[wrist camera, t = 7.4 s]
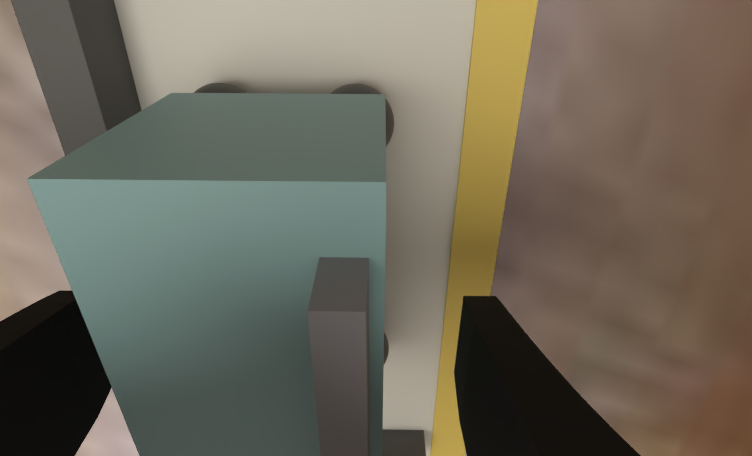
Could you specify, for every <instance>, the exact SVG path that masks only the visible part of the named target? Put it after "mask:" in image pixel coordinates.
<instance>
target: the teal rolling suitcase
mask: <svg viewBox="0 0 752 456" xmlns="http://www.w3.org/2000/svg"><path fill="white" fill-rule="evenodd" d="M393 130H394V116H393V112H392V109H391V106H390V104H389V102H388V101H387V99H386V98H385V94H381V93H380V92H379V91H377V90H376V89H374V88H372V87H370V86H368V85H364V84H347V85H344V86H341V87H339V88H337V89H335V90H334V91H332V92H331V93H330V94H281V93H247V92H245V91H244V90H243V89H241V88H239V87H237V86H235V85H232V84H228V83H211V84H207V85H205V86H202V87H201V88H199V89H197V90H196V91H195V92H194V93H170V94H169V95H167V96H165V97H164V98H162V99H160V100H158V101H157V102H155V103H153V104H152V105H150V106H148V107H147V108H145V109H143V110H142V111H140V112H138V113H137V114H135V115H133V116H132V117H130V118H128V119H127V120H125V121H123V122H122V123H120V124H118V125H117V126H115V127H113V128H111V129H110V130H108V131H106V132H105V133H103V134H101V135H100V136H98V137H96V138H95V139H93V140H91V141H90V142H88V143H86V144H85V145H83V146H81V147H80V148H78V149H76V150H75V151H73V152H71V153H69V154H68V155H66V156H64V157H63V158H61V159H59V160H58V161H56V162H54V163H53V164H51V165H49V166H48V167H46V168H44V169H43V170H41V171H39V172H38V173H36V174H34V175H33V176H31V177H29V178H28V179H27V181H28V183H29V186H30V188H31V191H32V193H33V196H34V198H35V200H36V203H37V205H38V208H39V210H40V213H41V215H42V218H43V220H44V223H45V225H46V227H47V230H48V232H49V235H50V237H51V240H52V242H53V245H54V247H55V249H56V252H57V254H58V257H59V259H60V262H61V264H62V267H63V269H64V272H65V274H66V276H67V279H68V281H69V284H70V286H71V289H72V291H73V294H74V296H75V299H76V301H77V303H78V306H79V308H80V311H81V313H82V316H83V318H84V321H85V323H86V326H87V328H88V330H89V333H90V335H91V338H92V340H93V343H94V345H95V348H96V350H97V352H98V355H99V357H100V360H101V362H102V365H103V367H104V370H105V372H106V375H107V377H108V379H109V382H110V384H111V387H112V389H113V392H114V394H115V397H116V399H117V402H118V404H119V406H120V409H121V411H122V414H123V416H124V419H125V421H126V424H127V426H128V429H129V431H130V433H131V436H132V438H133V441H134V443H135V446H136V448H137V451H138V453H139V455H140V456H382V433H383V370H384V364H385V362H386V360H387V357H388V353H389V343H388V339H387V336H386V334H385V333H384V308H385V245H386V146H387V145H388V143H389V142H390V140H391V137H392V135H393Z"/></svg>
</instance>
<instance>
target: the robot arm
mask: <svg viewBox="0 0 752 456" xmlns="http://www.w3.org/2000/svg"><path fill="white" fill-rule="evenodd" d="M454 377H455V387H456V396H457V405H458V413H459V421H460V426H461V431H462V435H463V440H464V444H465V449H466V453H467V456H640V455H639V454H638V453H637V452H636V451H635V450H634V449H633V448H632V447H631V446H630V445H629V444H628V443H627V442H626V441H625V440H624V439H623V438H622V437H621V436H620V435H618V434H617V433H616V432H615V431H614V430H613V429H612V428H611V427H610V426H609V424H608V423H607V422H606V421H605V420H604V419H603V418H602V417H601V416H600V415H599V414H598V413H597V412H596V411H595V410H594V409H593V408H592V407H591V406H590V405H589V404H588V403H587V402H586V401H585V400H584V399H583V398H582V397H581V396H580V394H579V393H578V392H577V391H576V390H575V389H574V388H573V387H572V386H571V385H570V384H569V382H568V381H567V380H566V379H565V378H564V377H563V376H562V375H561V374H560V372H559V371H558V370H557V369H556V368H555V367H554V366H553V365H552V363H551V362H550V361H549V360H548V359H547V358H546V357H545V355H544V354H543V353H542V352H541V351H540V350H539V348H538V347H537V346H536V345H535V344H534V342H533V341H532V340H531V339H530V338H529V336H528V335H527V334H526V333H525V332H524V330H523V329H522V328H521V327H520V325H519V324H518V323H517V322H516V320H515V319H514V318H513V317H512V315H511V314H510V313H509V312H508V310H507V309H506V308H505V307H504V305H503V304H502V303H501V302H500V301H499V299H498V298H497V297H496V296H463V304H462V311H461V319H460V327H459V335H458V343H457V351H456V359H455V367H454ZM110 389H111V384H110V382H109V379H108V377H107V375H106V372H105V370H104V367H103V365H102V362H101V360H100V357H99V355H98V352H97V350H96V348H95V345H94V343H93V340H92V338H91V335H90V333H89V330H88V328H87V326H86V323H85V321H84V318H83V316H82V313H81V311H80V308H79V306H78V303H77V301H76V299H75V296H74V294H73V291H58V292H56V293H54V294H52V295H49V296H47V297H45V298H43V299H41V300H39V301H37V302H35V303H33V304H32V305H30V306H28V307H26V308H24V309H22V310H20V311H19V312H17V313H15V314H13V315H11V316H9V317H8V318H6V319H4V320H2V321H0V456H75V454H76V452H77V451H78V449H79V447H80V446H81V444H82V442H83V441H84V439H85V437H86V436H87V434H88V433H89V431H90V429H91V427H92V426H93V424H94V422H95V421H96V419H97V417H98V415H99V413H100V411H101V409H102V407H103V405H104V403H105V401H106V398H107V396H108V394H109V392H110Z"/></svg>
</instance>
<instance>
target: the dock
mask: <svg viewBox="0 0 752 456" xmlns="http://www.w3.org/2000/svg"><path fill="white" fill-rule="evenodd" d="M11 2H12V5H13V8H14V11H15V14H16V17H17V19H18V22H19V25H20V28H21V31H22V34H23V37H24V39H25V42H26V45H27V48H28V51H29V54H30V56H31V59H32V62H33V65H34V68H35V71H36V74H37V76H38V79H39V82H40V85H41V88H42V91H43V93H44V96H45V99H46V102H47V105H48V108H49V111H50V113H51V116H52V119H53V122H54V125H55V128H56V131H57V133H58V136H59V139H60V142H61V145H62V148H63V150H64V153H65V156H66V155H68V154H69V153H71V152H73V151H75V150H76V149H78V148H80V147H81V146H83V145H85V144H86V143H88V142H90V141H91V140H93V139H95V138H96V137H98V136H100V135H101V134H103V133H105V132H106V131H108V130H110V129H111V128H113V127H115V126H117V125H118V124H120V123H122V122H123V121H125V120H127V119H128V118H130V117H132V116H133V115H135V114H137V113H138V112H140V111H142V110H143V109H145V108H147V107H148V106H150V105H152V104H153V103H155V102H157V101H158V100H160V99H162V98H164V97H165V96H167V95H169V94H170V93H194V92H195V91H196V90H197V89H199V88H201V87H202V86H205V85H207V84H211V83H228V84H232V85H235V86H237V87H239V88H241V89H243V90H244V91H245V92H247V93H281V94H330V93H331V92H332V91H334V90H335V89H337V88H339V87H341V86H344V85H347V84H364V85H368V86H370V87H372V88H374V89H376V90H377V91H379V92H380V93H381V94H385V98H386V99H387V101H388V102H389V104H390V106H391V109H392V112H393V116H394V130H393V135H392V137H391V140H390V142H389V143H388V145H387V146H386V245H385V308H384V333H385V334H386V336H387V339H388V343H389V353H388V357H387V360H386V362H385V364H384V370H383V433H382V456H464V455H465V444H464V440H463V435H462V431H461V426H460V421H459V413H458V405H457V396H456V387H455V377H454V367H455V359H456V351H457V343H458V335H459V327H460V319H461V311H462V304H463V296H490V294H491V288H492V282H493V275H494V269H495V263H496V257H497V251H498V245H499V238H500V232H501V226H502V220H503V214H504V208H505V201H506V195H507V189H508V183H509V177H510V170H511V164H512V158H513V152H514V146H515V140H516V133H517V127H518V121H519V115H520V109H521V102H522V96H523V90H524V84H525V78H526V72H527V65H528V59H529V53H530V47H531V41H532V35H533V28H534V22H535V16H536V10H537V4H538V0H11Z"/></svg>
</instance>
